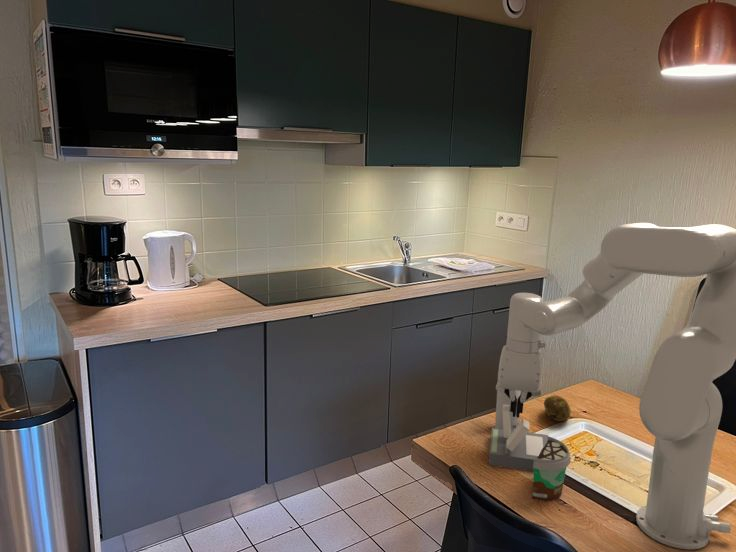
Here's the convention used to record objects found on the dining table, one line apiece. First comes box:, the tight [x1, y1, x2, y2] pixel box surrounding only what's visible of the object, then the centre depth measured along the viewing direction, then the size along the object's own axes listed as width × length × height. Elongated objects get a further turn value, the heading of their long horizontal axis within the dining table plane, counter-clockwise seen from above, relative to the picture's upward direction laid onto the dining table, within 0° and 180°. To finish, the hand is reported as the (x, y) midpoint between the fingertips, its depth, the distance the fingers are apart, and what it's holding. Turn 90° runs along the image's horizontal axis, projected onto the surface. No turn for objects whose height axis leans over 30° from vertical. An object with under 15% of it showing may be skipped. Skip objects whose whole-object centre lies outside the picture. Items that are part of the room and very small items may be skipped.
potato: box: [543, 394, 572, 422], centre depth 153 cm, size 8×13×8 cm, turn 142°
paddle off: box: [505, 418, 530, 455], centre depth 129 cm, size 2×4×8 cm, turn 165°
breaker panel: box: [488, 427, 549, 472], centre depth 134 cm, size 14×14×3 cm
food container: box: [531, 435, 571, 502], centre depth 118 cm, size 12×6×10 cm, turn 148°
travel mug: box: [494, 390, 521, 431], centre depth 145 cm, size 6×7×20 cm
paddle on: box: [503, 405, 511, 443], centre depth 135 cm, size 2×4×8 cm, turn 165°
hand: (515, 414), depth 135 cm, fingers closed
